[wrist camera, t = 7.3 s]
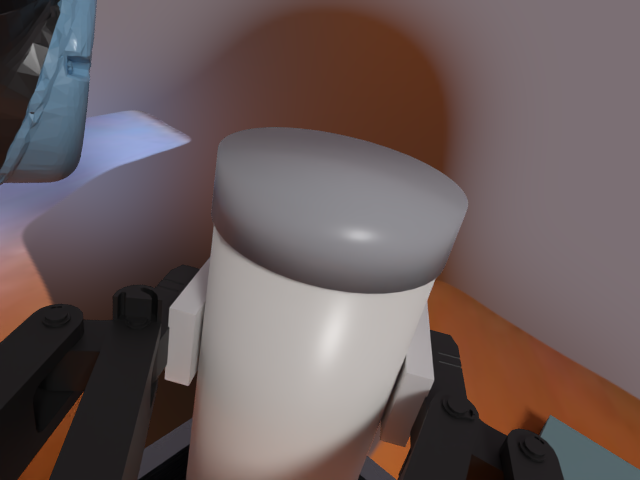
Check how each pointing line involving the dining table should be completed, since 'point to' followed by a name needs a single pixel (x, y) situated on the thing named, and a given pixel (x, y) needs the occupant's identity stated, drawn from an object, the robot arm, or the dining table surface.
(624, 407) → the dining table surface
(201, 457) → the cylinder
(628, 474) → the mat
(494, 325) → the dining table surface
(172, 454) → the housing
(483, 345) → the dining table surface
